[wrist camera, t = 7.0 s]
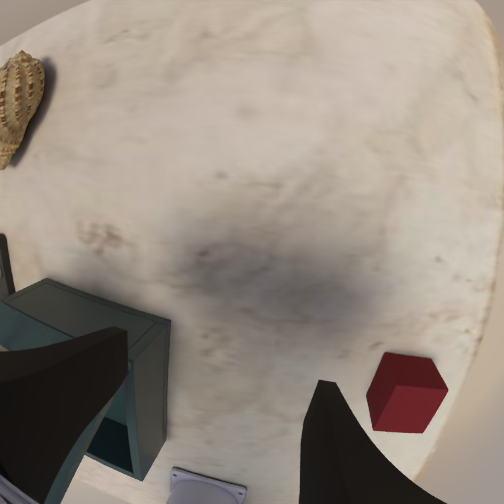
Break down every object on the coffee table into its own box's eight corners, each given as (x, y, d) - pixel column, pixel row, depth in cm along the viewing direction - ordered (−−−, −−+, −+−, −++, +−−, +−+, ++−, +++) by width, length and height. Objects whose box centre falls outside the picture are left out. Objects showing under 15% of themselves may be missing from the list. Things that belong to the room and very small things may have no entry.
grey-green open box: (166, 439, 26) (142, 482, 20) (62, 393, 27) (31, 423, 22) (171, 320, 22) (133, 361, 17) (46, 277, 24) (-1, 299, 18)
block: (410, 400, 21) (422, 433, 17) (365, 395, 21) (372, 431, 17) (431, 358, 20) (449, 389, 16) (384, 351, 20) (396, 385, 16)
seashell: (66, 148, 24) (54, 40, 17) (20, 180, 19) (-2, 56, 13) (17, 147, 25) (4, 56, 18) (-24, 176, 20) (-45, 75, 14)
